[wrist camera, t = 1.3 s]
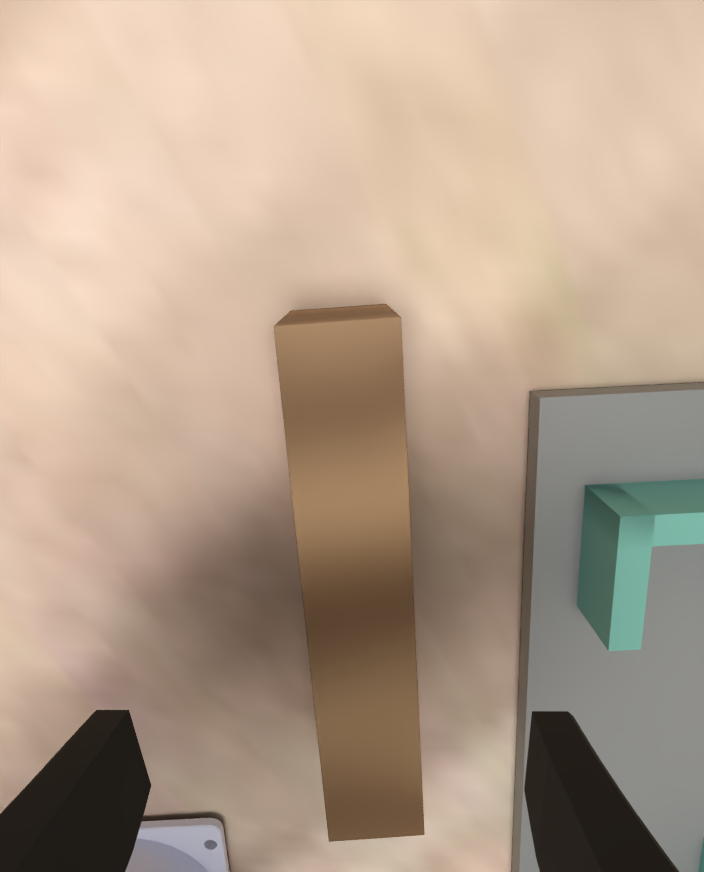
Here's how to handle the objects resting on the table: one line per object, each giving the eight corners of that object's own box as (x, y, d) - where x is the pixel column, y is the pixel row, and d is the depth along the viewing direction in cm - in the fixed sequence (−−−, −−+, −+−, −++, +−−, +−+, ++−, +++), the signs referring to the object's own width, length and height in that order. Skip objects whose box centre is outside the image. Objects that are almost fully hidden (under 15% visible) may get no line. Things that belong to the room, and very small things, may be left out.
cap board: (727, 938, 26) (783, 1036, 23) (508, 950, 26) (532, 1050, 23) (832, 375, 19) (938, 398, 16) (530, 391, 19) (570, 417, 16)
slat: (407, 715, 23) (424, 834, 18) (331, 720, 23) (329, 841, 18) (385, 303, 18) (400, 316, 14) (291, 310, 18) (273, 326, 14)
